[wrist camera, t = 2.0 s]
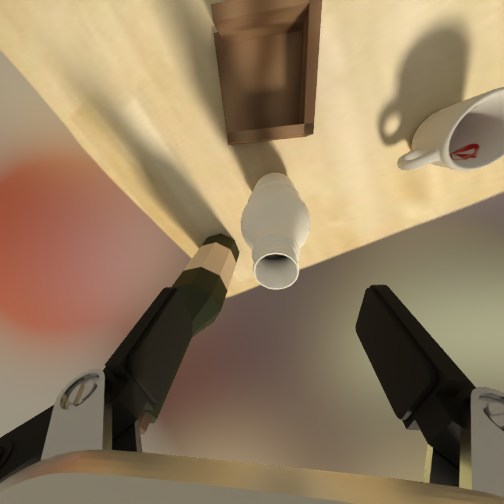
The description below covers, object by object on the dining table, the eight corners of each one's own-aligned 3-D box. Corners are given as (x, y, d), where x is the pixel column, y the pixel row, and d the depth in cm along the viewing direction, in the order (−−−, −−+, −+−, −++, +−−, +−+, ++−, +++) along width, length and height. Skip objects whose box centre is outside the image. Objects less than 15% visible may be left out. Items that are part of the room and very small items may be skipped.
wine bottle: (247, 253, 40) (201, 440, 15) (221, 271, 44) (146, 450, 18) (221, 226, 38) (108, 396, 12) (195, 247, 41) (63, 416, 15)
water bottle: (246, 193, 34) (201, 273, 12) (273, 161, 31) (273, 191, 9) (274, 218, 36) (277, 324, 14) (302, 190, 33) (359, 271, 11)
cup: (390, 186, 31) (424, 196, 24) (376, 140, 28) (410, 138, 21) (468, 145, 27) (536, 144, 20) (462, 87, 24) (538, 63, 17)
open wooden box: (311, 19, 22) (323, -20, 17) (305, 136, 28) (313, 133, 23) (215, 37, 24) (200, 6, 19) (229, 144, 30) (220, 143, 25)
